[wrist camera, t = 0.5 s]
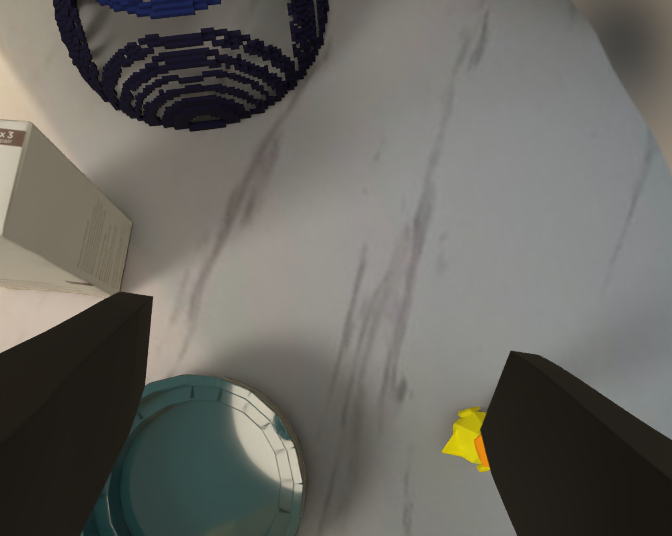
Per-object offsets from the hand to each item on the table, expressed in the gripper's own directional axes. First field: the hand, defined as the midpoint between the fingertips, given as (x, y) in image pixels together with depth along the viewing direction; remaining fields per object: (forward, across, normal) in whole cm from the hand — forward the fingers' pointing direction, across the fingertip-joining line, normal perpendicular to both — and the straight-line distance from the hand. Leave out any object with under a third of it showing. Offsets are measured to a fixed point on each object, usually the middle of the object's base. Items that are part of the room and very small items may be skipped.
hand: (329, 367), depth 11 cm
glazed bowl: (+18, +3, +21) cm, 28 cm away
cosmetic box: (+28, +14, +11) cm, 33 cm away
